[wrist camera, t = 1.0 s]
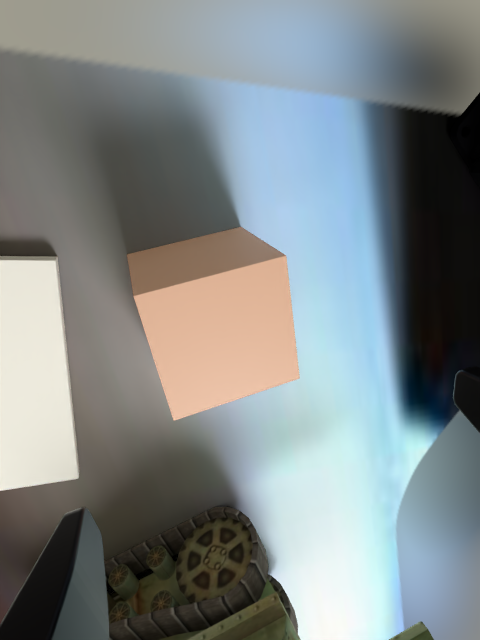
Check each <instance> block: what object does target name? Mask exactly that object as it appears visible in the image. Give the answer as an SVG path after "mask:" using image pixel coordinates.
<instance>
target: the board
mask: <svg viewBox="0 0 480 640" xmlns="http://www.w3.org/2000/svg"><path fill="white" fill-rule="evenodd" d="M78 478H79V461H78V452H77V442H76V432H75V422H74V413H73V403H72V393H71V383H70V374H69V364H68V354H67V344H66V335H65V325H64V315H63V305H62V296H61V286H60V276H59V267H58V257H49V256H0V491H2V490H8V489H14V488H21V487H27V486H34V485H40V484H47V483H53V482H60V481H66V480H73V479H78Z"/></svg>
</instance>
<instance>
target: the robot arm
mask: <svg viewBox="0 0 480 640" xmlns="http://www.w3.org/2000/svg"><path fill="white" fill-rule="evenodd" d="M462 129H464V131H463V134H461V132H462ZM450 138H451V141H452V142H453V144H454V145H455V147H456V148H457V150H458V152H459V153H460V155H461V156H462V158H463V159H464V161H465V162H466V164H467V166H468V167H469V169H470V174H471V176H472V177H473V179H474V180H475V182H476V183H477V185H478V186H479V188H480V93H479V94H478V96H477V97H476V98H475V99H474V100H473V102H472V103H471V104H470V105H469V106H468V108H467V109H466V110H465V111H464V112H463V114H462V115H461V116H460V117H459V118H458V120H457V121H456V122H455V123H454V125H453V126H452V128H451V131H450ZM453 399H454V402H455V404H456V406H457V407H458V409H459V410H460V411H461V412H462V413H463V414H464V416H465V417H466V418H467V419H468V420H469V421H470V423H471V424H472V425H473V426H474V427H475V428H476V430H477V431H478V432H479V433H480V368H479V367H468V368H466V369H463V370H460V371H458V372H457V374H456V377H455V385H454V393H453ZM0 640H109V615H108V601H107V589H106V577H105V566H104V554H103V542H102V536H101V533H100V530H99V528H98V526H97V525H96V523H95V521H94V519H93V517H92V515H91V514H90V512H89V510H88V509H87V508H86V507H81V508H78V509H76V510H73V511H70V512H68V513H66V514H65V515H64V516H63V517H62V518H61V520H60V522H59V524H58V525H57V527H56V529H55V530H54V532H53V534H52V536H51V537H50V539H49V541H48V543H47V544H46V546H45V548H44V550H43V551H42V553H41V555H40V556H39V558H38V560H37V562H36V563H35V565H34V567H33V569H32V570H31V572H30V574H29V575H28V577H27V579H26V581H25V582H24V584H23V586H22V588H21V589H20V591H19V593H18V595H17V596H16V598H15V600H14V601H13V603H12V605H11V607H10V608H9V610H8V612H7V614H6V615H5V617H4V619H3V620H2V622H1V624H0Z"/></svg>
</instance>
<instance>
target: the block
mask: <svg viewBox="0 0 480 640" xmlns="http://www.w3.org/2000/svg"><path fill="white" fill-rule="evenodd" d="M127 258H128V264H129V271H130V277H131V283H132V290H133V296H134V299H135V302H136V305H137V308H138V312H139V315H140V318H141V321H142V324H143V327H144V330H145V333H146V336H147V339H148V343H149V346H150V349H151V352H152V355H153V358H154V361H155V364H156V367H157V370H158V373H159V377H160V380H161V383H162V386H163V389H164V392H165V395H166V398H167V401H168V404H169V408H170V411H171V414H172V417H173V420H174V421H175V420H178V419H181V418H183V417H186V416H189V415H192V414H195V413H198V412H201V411H204V410H207V409H210V408H213V407H216V406H219V405H222V404H225V403H228V402H231V401H234V400H237V399H240V398H243V397H246V396H249V395H252V394H255V393H258V392H261V391H264V390H266V389H269V388H272V387H275V386H278V385H281V384H284V383H287V382H290V381H293V380H296V379H299V378H300V377H299V368H298V359H297V350H296V341H295V332H294V323H293V314H292V304H291V295H290V286H289V277H288V268H287V259H286V255H284V254H283V253H281V252H280V251H278V250H277V249H275V248H273V247H272V246H270V245H269V244H267V243H266V242H264V241H262V240H261V239H259V238H258V237H256V236H255V235H253V234H251V233H250V232H248V231H247V230H245V229H244V228H242V227H238V228H234V229H229V230H225V231H221V232H217V233H213V234H209V235H205V236H201V237H196V238H192V239H188V240H184V241H180V242H176V243H172V244H168V245H164V246H159V247H155V248H151V249H147V250H143V251H139V252H135V253H131V254H127Z"/></svg>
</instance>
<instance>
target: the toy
mask: <svg viewBox="0 0 480 640" xmlns="http://www.w3.org/2000/svg"><path fill="white" fill-rule="evenodd" d="M178 553H179V555H178V559H177V561H176V562H174V560H173V559H172V558H171V557H172V556H174V555H176V554H178ZM104 566H105V577H106V589H108V588H110V587H112V588H113V589H114V590H115V591H116V592H115V593H113V594H111V595H110V594H109V593H108V592H107V601H108V615H109V640H300V638H299V636H298V624H297V619H296V615H295V611H294V609H293V607H292V605H291V603H290V600H289V598H288V596H287V594H286V593H285V591H284V589H283V587H282V586H281V584H280V583H279V582H278V581H277V580H276V579H274V578H273V577H272V576H271V575H268V561H267V556H266V551H265V548H264V546H263V544H262V542H261V540H260V538H259V536H258V534H257V532H256V530H255V528H254V526H253V524H252V523H251V521H250V519H249V518H248V517H247V516H246V515H244V514H243V513H242V512H241V511H239V510H237V509H233V508H230V507H214V508H212V509H210V510H208V511H206V512H204V513H202V514H200V515H198V516H196V517H194V518H192V519H190V520H187V521H185V522H183V523H181V524H179V525H177V526H175V527H173V528H171V529H169V530H167V531H165V532H163V533H161V534H159V535H157V536H155V537H153V538H151V539H149V540H147V541H145V542H143V543H141V544H139V545H137V546H135V547H133V548H131V549H129V550H127V551H125V552H123V553H121V554H119V555H117V556H115V557H113V558H111V559H109V560H107V561H105V562H104ZM148 568H151V570H152V571H153V572H154V573H152V574H150V575H148V576H146V577H144V578H142V579H140V580H138V579H137V577H136V576H135V575H136V574H138V573H140V572H142V571H144V570H146V569H148ZM389 640H434V639H433V638H432V636H431V634H430V632H429V631H428V629H427V628H426V627H425V625H424V624H423V622H418V623H417V624H415V625H413V626H412V627H410V628H408V629H406V630H405V631H403V632H401V633H399V634H398V635H396V636H394V637H393V638H391V639H389Z"/></svg>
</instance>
